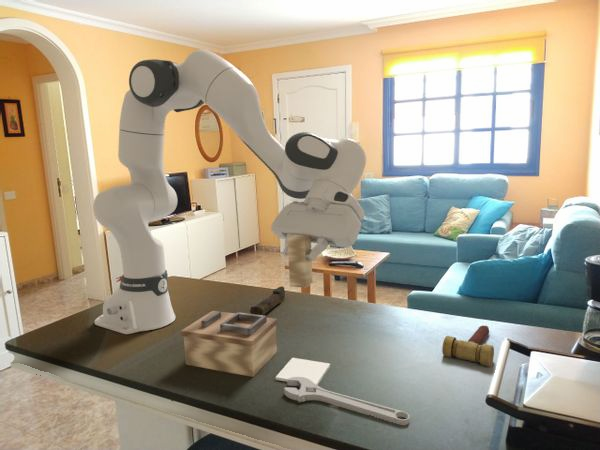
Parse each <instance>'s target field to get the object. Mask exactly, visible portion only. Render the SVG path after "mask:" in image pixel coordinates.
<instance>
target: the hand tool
mask: <svg viewBox="0 0 600 450" xmlns="http://www.w3.org/2000/svg"><path fill="white" fill-rule="evenodd" d="M285 298H286V291H285V287H284V286H278V287H276V288H275V289H273V290H272V294H271V295H269V296H268V297H266V298H265V299H263V300H262V301H260V302H259V303H258V304H256V305H255V306H251V307H250V310H249V311H250V312H249V314H255V315H263V316H266V314H268V313H269V311H271V310H273V308H275V307H276V306H277V305H281V304H282V303H284V300H285Z"/></svg>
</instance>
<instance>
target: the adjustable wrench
mask: <svg viewBox="0 0 600 450" xmlns="http://www.w3.org/2000/svg"><path fill="white" fill-rule="evenodd" d="M286 384H287V386H288V387H286V386H285V387H284V388H283V389H284V391H283V392H284V395H285V396H286V398H288V399H289V400H290V399H291V400H293V401H297V402H298V403H302V402H303V403H305V401H306V402H307V401H320V402H324V403H326V404H330V405H333V406H337V407H339V408H343V409H346V410H348V411H349V410H350V411H353V412H355V413H360V414H363V415H366V416H369V415H371V416H370V417H372V416H374V417H373V418H376V417H377V418H376V419H379V418H380V419H379V420H382V419H384V420H383V421H386V420H387V421H386V422H389V423H392V422H393V423H392V424H395V423H396V425H400V426H407V425H409V423H410V416H411V415H410V414H409V413H407V412H406V411H403V410H399V409H395V408H392V407H389V406H385V405H381V404H378V403H375V402H370V401H367V400H363V399H360V398H356V397H352V396H349V395H345V394H342V393H340V392H335V391H331V390H328V389H325V388H323V387H321V386H319V384H318V385H316V384H315V383H313V382H312V381H311V380H310V379H307V378H304V377H292V378H289V379H288V380H287V382H286ZM289 386H291V387H289ZM292 386H293V387H292ZM297 387H299V389H298V388H297ZM398 417H399V418H398ZM402 417H404V418H402ZM405 418H406V419H405Z"/></svg>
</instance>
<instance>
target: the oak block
mask: <svg viewBox="0 0 600 450" xmlns="http://www.w3.org/2000/svg"><path fill="white" fill-rule="evenodd" d="M308 249H312V243H311V236H308V235H293V236H291V237H289V238H288V257H287V258H288V275H289V278H288V280H289V287H292V288H293V287H294V288H303V289H306V288H308V287H309V286H310V285H312V283H314V282H313V261H310V260H307V258H306V257H305V255H306V253H307V251H308Z"/></svg>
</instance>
